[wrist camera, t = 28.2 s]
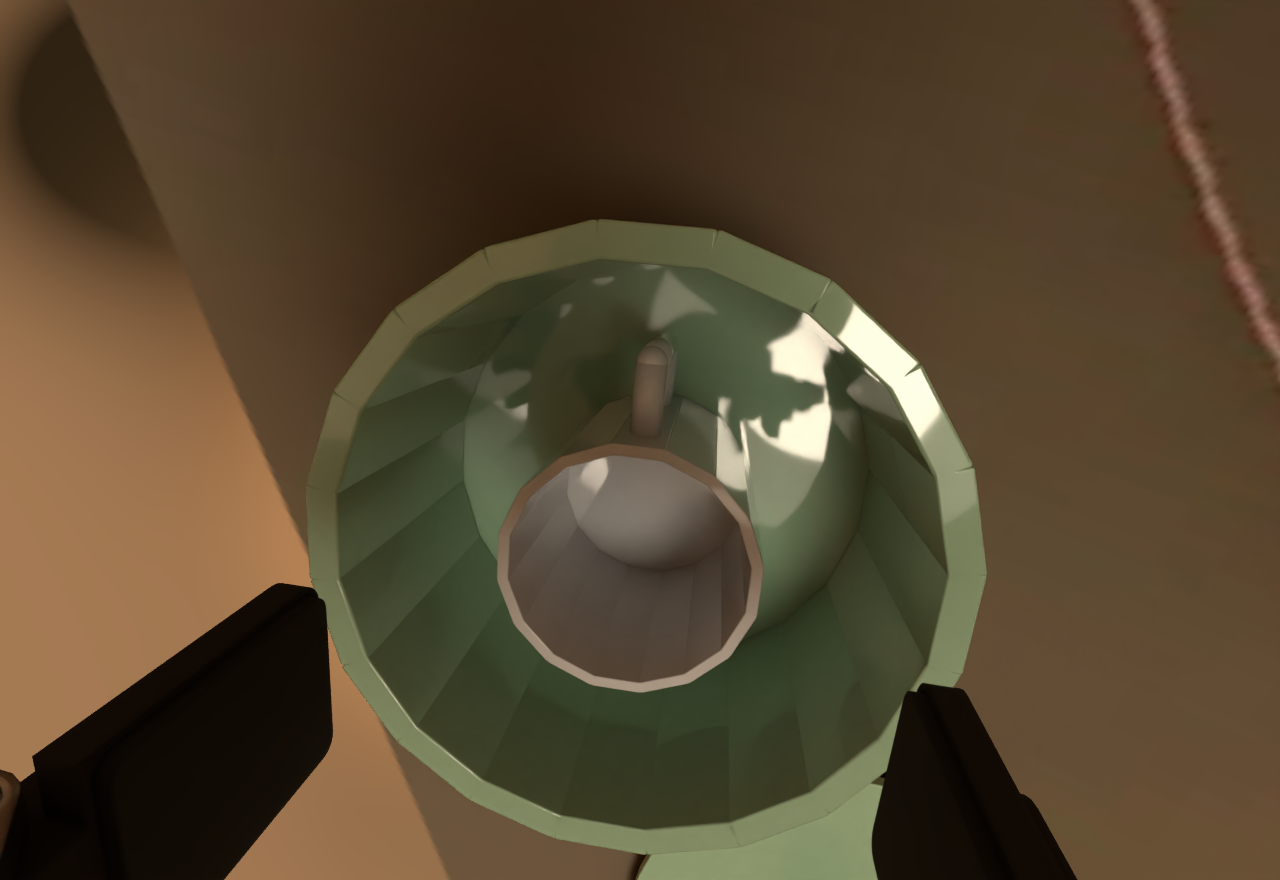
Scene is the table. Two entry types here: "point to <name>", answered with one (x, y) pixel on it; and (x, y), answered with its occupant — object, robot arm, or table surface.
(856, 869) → the pot lid
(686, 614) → the mug
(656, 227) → the pot
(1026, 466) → the table surface
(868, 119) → the table surface
